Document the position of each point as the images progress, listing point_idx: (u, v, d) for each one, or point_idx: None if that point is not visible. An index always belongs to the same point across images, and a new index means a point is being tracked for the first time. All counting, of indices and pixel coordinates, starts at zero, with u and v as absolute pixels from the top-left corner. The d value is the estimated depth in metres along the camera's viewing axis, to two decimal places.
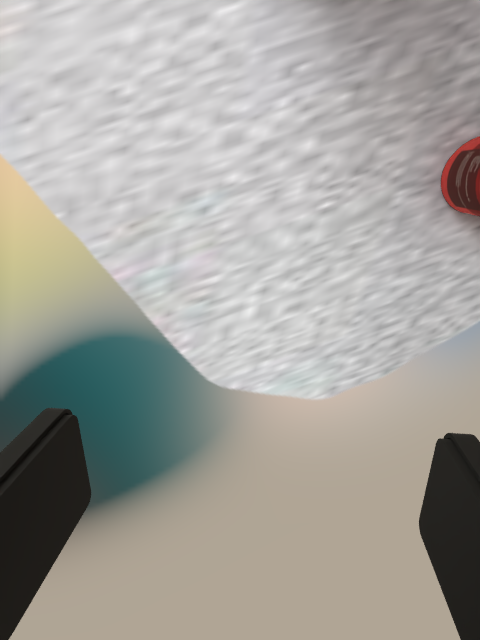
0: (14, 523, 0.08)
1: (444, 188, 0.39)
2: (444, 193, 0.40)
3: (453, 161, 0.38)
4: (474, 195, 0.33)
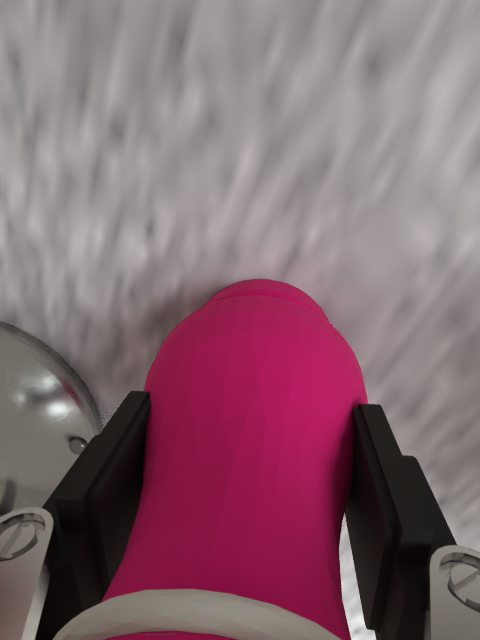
0: (122, 491, 0.08)
1: None
2: None
3: None
4: None
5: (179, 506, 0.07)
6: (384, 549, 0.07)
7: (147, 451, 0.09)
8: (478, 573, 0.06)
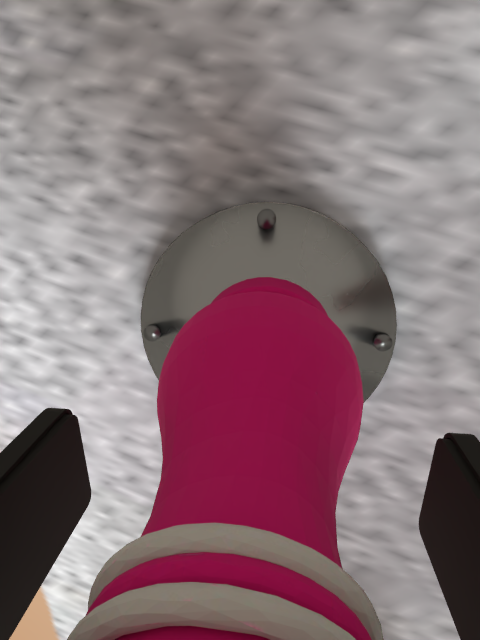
0: (14, 523, 0.08)
1: None
2: None
3: None
4: None
5: (198, 469, 0.08)
6: None
7: (166, 430, 0.10)
8: None
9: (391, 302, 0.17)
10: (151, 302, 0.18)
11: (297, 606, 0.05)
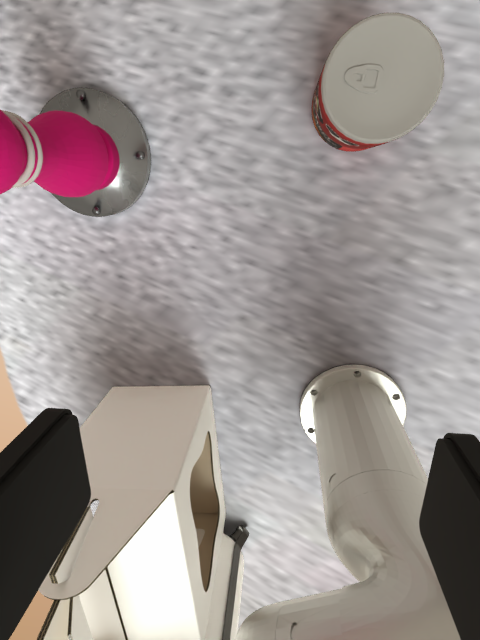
0: (14, 523, 0.08)
1: None
2: None
3: None
4: None
5: None
6: None
7: None
8: None
9: (141, 134, 0.37)
10: None
11: (6, 112, 0.25)
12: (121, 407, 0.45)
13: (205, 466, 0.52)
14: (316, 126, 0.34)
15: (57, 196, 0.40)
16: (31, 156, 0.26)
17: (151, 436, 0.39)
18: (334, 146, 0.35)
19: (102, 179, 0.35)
